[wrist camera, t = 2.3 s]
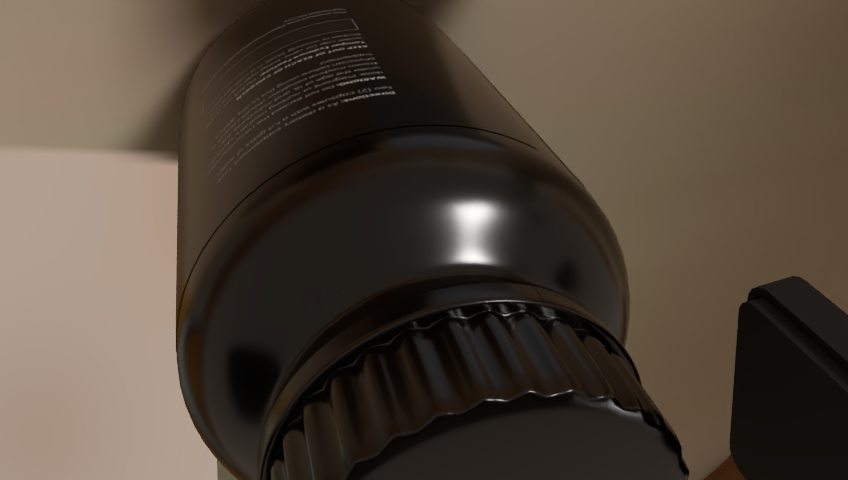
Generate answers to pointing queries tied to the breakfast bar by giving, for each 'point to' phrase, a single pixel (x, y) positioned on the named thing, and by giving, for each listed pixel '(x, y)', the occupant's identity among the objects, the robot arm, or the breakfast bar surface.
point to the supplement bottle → (394, 267)
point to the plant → (726, 472)
